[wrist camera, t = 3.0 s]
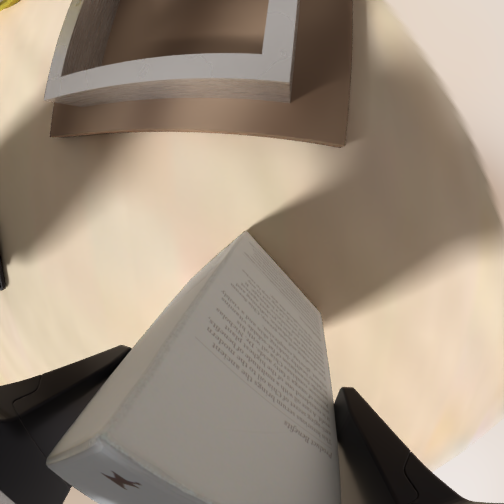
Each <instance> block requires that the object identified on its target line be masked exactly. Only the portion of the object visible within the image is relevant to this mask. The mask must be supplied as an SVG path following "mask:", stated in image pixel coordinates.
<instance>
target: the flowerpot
mask: <svg viewBox="0 0 504 504" xmlns="http://www.w3.org/2000/svg"><path fill="white" fill-rule="evenodd" d="M18 1H19V0H0V11H1V10H3V9H5V8H8V7H10V6H12V5H14V4H15V3H17V2H18Z"/></svg>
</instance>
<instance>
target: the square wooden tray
mask: <svg viewBox="0 0 504 504" xmlns="http://www.w3.org/2000/svg"><path fill="white" fill-rule="evenodd" d="M268 3H269V0H120V3H119V5H118V8H117V11H116V14H115V18H114V21H113V24H112V27H111V31H110V34H109V38H108V42H107V46H106V49H105V53H104V58H103V62H102V66H105V65H110V64H115V63H121V62H126V61H132V60H139V59H146V58H154V57H162V56H173V55H185V54H205V53H248V54H262V49H263V41H264V33H265V26H266V18H267V11H268ZM351 63H352V0H300V6H299V17H298V29H297V40H296V50H295V61H294V71H293V80H292V90H291V100H290V103H284V102H275V101H264V100H252V99H234V98H163V99H146V100H134V101H123V102H114V103H106V104H99V105H92V106H85V107H78V106H72V105H67V104H62V103H56V102H54V109H53V115H52V123H51V131H50V137H70V136H80V135H91V134H105V133H123V132H206V133H224V134H239V135H250V136H261V137H270V138H279V139H287V140H295V141H302V142H309V143H315V144H322V145H328V146H333V147H339V148H341V147H343V146H345V141H346V131H347V121H348V110H349V97H350V82H351Z"/></svg>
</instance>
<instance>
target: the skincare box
mask: <svg viewBox="0 0 504 504" xmlns="http://www.w3.org/2000/svg"><path fill="white" fill-rule="evenodd" d="M46 465H47V466H48V468H50V469H51V470H52V471H53V472H55V473H56V474H57V475H58V476H60V477H61V478H62V479H63V480H65V481H66V482H67V483H69V484H70V485H72V486H73V487H74V488H76V489H77V490H79V491H80V492H82V493H83V494H84V495H86V496H88V497H89V498H91V499H92V500H94V501H95V502H97V503H98V504H342V503H341V483H340V467H339V455H338V443H337V433H336V421H335V412H334V403H333V394H332V387H331V379H330V371H329V364H328V357H327V350H326V343H325V337H324V330H323V323H322V317H321V313H320V312H319V311H318V310H317V309H316V308H315V306H314V305H313V304H312V303H311V302H310V301H309V300H308V299H307V297H306V296H305V295H304V294H303V293H302V292H301V291H300V289H299V288H298V287H297V286H296V285H295V284H294V283H293V282H292V281H291V279H290V278H289V277H288V276H287V275H286V274H285V273H284V272H283V271H282V269H281V268H280V267H279V266H278V265H277V264H276V263H275V262H274V260H273V259H272V258H271V257H270V256H269V255H268V254H267V253H266V252H265V251H264V250H263V248H262V247H261V246H260V245H259V244H258V243H257V242H256V241H255V239H254V238H253V237H252V236H251V235H250V234H249V233H248V232H247V231H244V232H243V233H242V234H241V235H239V236H238V237H237V238H236V239H235V240H234V241H233V242H231V243H230V244H229V245H228V246H227V247H226V248H224V249H223V250H222V251H221V252H220V253H219V254H218V255H216V256H215V257H214V258H213V259H212V260H211V261H210V262H209V263H208V264H207V265H206V266H204V267H203V268H202V269H201V270H200V271H199V272H198V273H197V274H196V275H195V276H194V277H193V278H192V279H190V281H189V282H188V283H187V284H186V285H185V286H184V288H183V289H182V290H181V291H180V292H179V293H178V294H177V296H176V297H175V298H174V299H173V300H172V301H171V302H170V304H169V305H168V306H167V307H166V308H165V310H164V311H163V312H162V313H161V314H160V316H159V317H158V318H157V319H156V320H155V322H154V323H153V324H152V325H151V326H150V328H149V329H148V330H147V331H146V332H145V334H144V335H143V336H142V337H141V338H140V340H139V341H138V342H137V343H136V345H135V346H134V347H133V348H132V349H131V351H130V352H129V353H128V354H127V356H126V357H125V358H124V359H123V360H122V362H121V363H120V364H119V365H118V367H117V368H116V369H115V370H114V372H113V373H112V374H111V375H110V377H109V378H108V379H107V380H106V382H105V383H104V384H103V385H102V387H101V388H100V389H99V390H98V392H97V393H96V394H95V395H94V397H93V398H92V399H91V401H90V402H89V403H88V404H87V406H86V407H85V408H84V410H83V411H82V412H81V414H80V415H79V416H78V418H77V419H76V420H75V422H74V423H73V424H72V425H71V427H70V428H69V429H68V430H67V432H66V433H65V434H64V436H63V437H62V438H61V440H60V441H59V442H58V444H57V445H56V446H55V448H54V449H53V450H52V452H51V453H50V455H49V456H48V458H47V460H46Z"/></svg>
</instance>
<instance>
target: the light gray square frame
mask: <svg viewBox="0 0 504 504" xmlns="http://www.w3.org/2000/svg"><path fill="white" fill-rule="evenodd" d="M119 3H120V0H72V2H71V4H70V7H69V9H68V12H67V15H66V18H65V20H64V23H63V26H62V29H61V32H60V35H59V38H58V42H57V45H56V49H55V52H54V56H53V60H52V63H51V68H50V72H49V76H48V81H47V86H46V91H45V96H44V101H50V102H56V103H62V104H67V105H72V106H78V107H85V106H92V105H99V104H106V103H114V102H123V101H134V100H146V99H163V98H234V99H252V100H264V101H275V102H284V103H290V100H291V90H292V80H293V71H294V61H295V50H296V40H297V29H298V17H299V6H300V0H269V3H268V11H267V18H266V26H265V33H264V41H263V49H262V54H248V53H205V54H185V55H173V56H162V57H154V58H146V59H139V60H132V61H126V62H121V63H115V64H110V65H105V66H102V62H103V58H104V53H105V49H106V46H107V42H108V38H109V34H110V31H111V27H112V24H113V21H114V18H115V14H116V11H117V8H118V5H119Z"/></svg>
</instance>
